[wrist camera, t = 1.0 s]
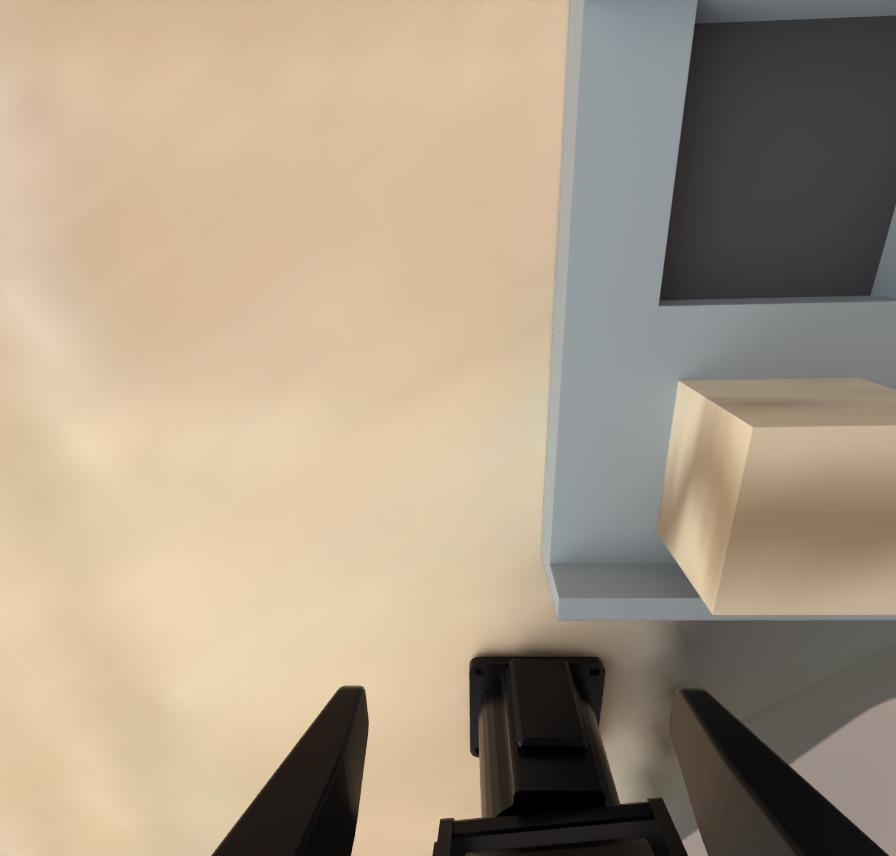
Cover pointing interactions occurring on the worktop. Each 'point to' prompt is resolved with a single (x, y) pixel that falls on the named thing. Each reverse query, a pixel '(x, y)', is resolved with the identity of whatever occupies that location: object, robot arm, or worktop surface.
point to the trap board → (705, 254)
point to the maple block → (784, 495)
